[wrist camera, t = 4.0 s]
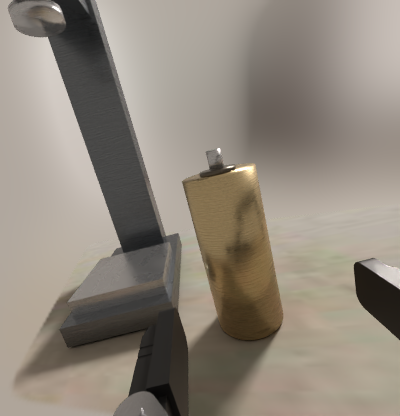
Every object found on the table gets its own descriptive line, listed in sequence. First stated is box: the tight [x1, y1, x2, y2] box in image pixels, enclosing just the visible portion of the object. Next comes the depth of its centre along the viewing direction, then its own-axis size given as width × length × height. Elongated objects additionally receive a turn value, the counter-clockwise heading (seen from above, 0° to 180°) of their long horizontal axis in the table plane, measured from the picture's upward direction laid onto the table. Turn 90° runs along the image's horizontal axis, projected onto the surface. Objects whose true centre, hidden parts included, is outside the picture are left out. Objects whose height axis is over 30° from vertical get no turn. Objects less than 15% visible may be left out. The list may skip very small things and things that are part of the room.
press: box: [8, 0, 182, 348], centre depth 26 cm, size 18×18×34 cm
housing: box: [182, 148, 283, 340], centre depth 18 cm, size 5×5×14 cm
